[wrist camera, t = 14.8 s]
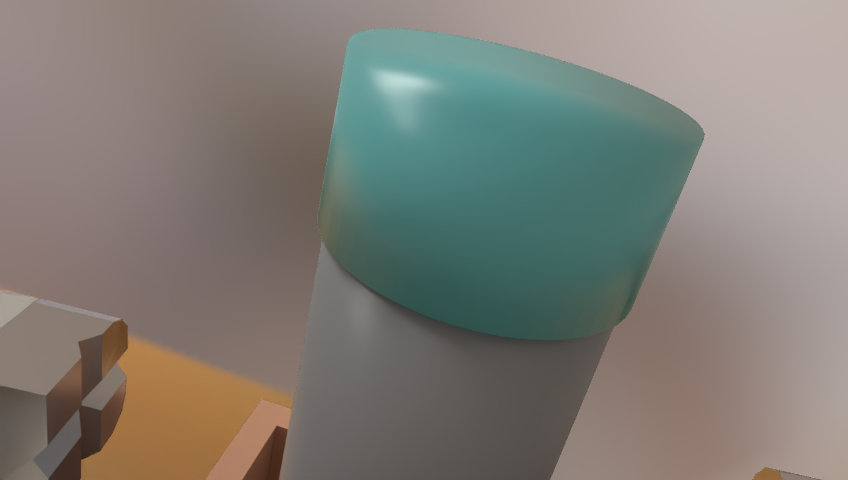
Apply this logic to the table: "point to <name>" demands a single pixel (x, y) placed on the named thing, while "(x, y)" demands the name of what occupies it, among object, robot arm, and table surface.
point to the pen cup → (256, 446)
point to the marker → (473, 256)
